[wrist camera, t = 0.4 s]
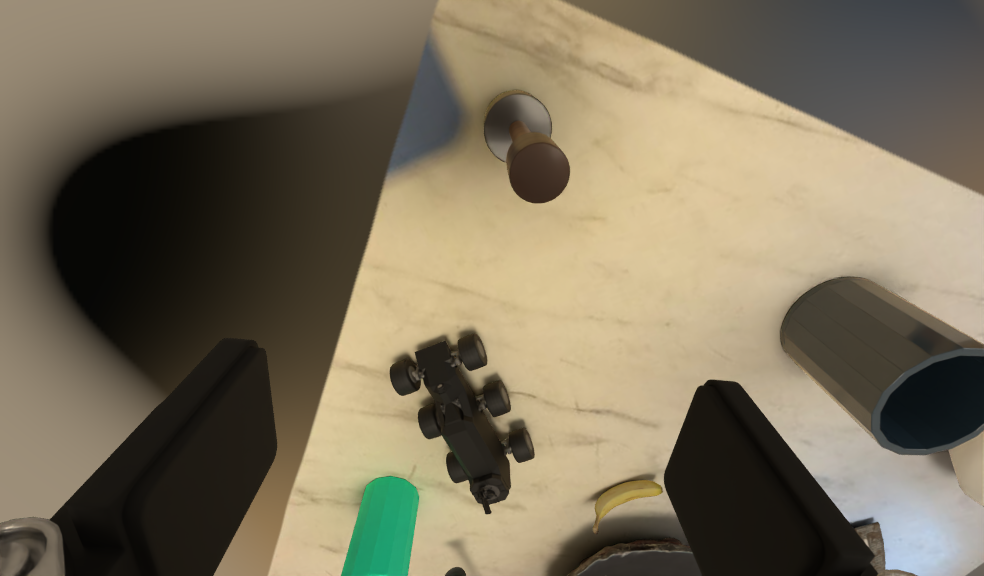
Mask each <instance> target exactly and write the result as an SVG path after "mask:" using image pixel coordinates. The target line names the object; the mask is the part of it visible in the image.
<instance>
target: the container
mask: <svg viewBox="0 0 984 576" xmlns="http://www.w3.org/2000/svg"><path fill="white" fill-rule="evenodd" d="M781 342H782V346H783V348H784V350H785V352H786V353H787V354H788V356H789V357H790V358H791V359H792V360H793V361H794V363H795V364H796V365H798V366H799V367H800V368H801V369H802V370H803V371H804V372H805V373H806V374H807V375H808V376H809V377H810V378H811V379H812V380H813V381H814V382H815V383H816V384H817V385H818V386H819V387H820V388H821V389H822V390H823V391H824V392H825V393H826V394H827V395H829V396H830V397H831V398H832V399H833V400H834V401H835V402H836V403H837V404H838V405H839V406H840V407H841V408H842V409H843V410H844V411H845V412H846V413H847V414H848V415H849V416H850V417H851V418H852V419H853V420H854V421H855V422H856V423H857V424H858V425H859V426H861V427H862V428H863V429H864V430H865V431H866V432H867V433H868V434H869V435H870V436H871V437H872V438H873V439H874V440H875V441H876V442H877V443H878V444H879V445H880V446H881V447H883V448H885V449H888V450H890V451H893V452H895V453H897V454H901V455H929V454H933V453H937V452H941V451H945V450H949V449H953V448H955V447H957V446H959V445H961V444H963V443H965V442H967V441H969V440H971V439H973V438H975V437H977V436H978V435H980V434H981V433H982V432H983V431H984V344H983V343H981V342H979V341H978V340H976V339H974V338H972V337H971V336H969V335H967V334H965V333H964V332H962V331H960V330H958V329H956V328H955V327H953V326H951V325H949V324H948V323H946V322H944V321H942V320H940V319H939V318H937V317H935V316H933V315H932V314H930V313H928V312H926V311H925V310H923V309H921V308H919V307H917V306H916V305H914V304H912V303H910V302H909V301H907V300H905V299H903V298H901V297H900V296H898V295H896V294H894V293H893V292H891V291H889V290H887V289H885V288H884V287H882V286H880V285H878V284H876V283H874V282H872V281H870V280H868V279H864V278H859V277H843V278H837V279H833V280H830V281H827V282H824V283H822V284H820V285H818V286H816V287H814V288H813V289H811V290H810V291H808V292H807V293H805V294H804V295H803V296H802V297H801V298H799V299H798V300H797V302H796V303H795V304H794V305H793V306H792V307H791V309H790V310H789V312H788V313H787V315H786V317H785V319H784V321H783V324H782V328H781Z"/></svg>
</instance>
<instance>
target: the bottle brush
mask: <svg viewBox="0 0 984 576" xmlns="http://www.w3.org/2000/svg"><path fill="white" fill-rule="evenodd" d="M551 133H552V122H551V118H550V115H549V113H548V111H547V109H546V108H545V106H544V105H543V104H542V103H541V102H540V101H539V100H538V99H536V98H535V97H533V96H532V95H530V94H529V93H527V92H524V91H520V90H511V91H507V92H504V93H502V94H500V95H498V96H497V97H496V98H495V99H494V100H493V101H492V102H491V103H490V105H489V106H488V108H487V110H486V113H485V118H484V135H485V140H486V143H487V146H488V147H489V149H490V151H491V152H492V153H493V154H494V155H495V156H496V157H497V158H498V159H500V160H501V161H503V162H506V165H507V170H508V175H509V179H510V183H511V186H512V188H513V190H514V191H515V193H516V194H517V195H518V196H519V197H520V198H522V199H523V200H525V201H528V202H531V203H545V202H549V201H551V200H553V199H555V198H556V197H558V196H559V195H560V194H561V193H562V192H563V190H564V189H565V187H566V186H567V183H568V180H569V176H570V166H569V162H568V159H567V158H566V156H565V154H564V153H563V152H562V151H561V149H560V148H559V147H558V146H557V145H556V144H555V143H554V141H553V140H552V139H551Z"/></svg>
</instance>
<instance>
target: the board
mask: <svg viewBox="0 0 984 576" xmlns="http://www.w3.org/2000/svg"><path fill="white" fill-rule="evenodd" d="M568 576H702V574H701V572H700V569H699V567H698V564H697V562H696V560H695V557H694V555H693V553H692V550H691V548H690V547H689V546H686V545H682V543H681V542H680V541H679V540H678V539H675V538H670V537H669V538H664V539H662V540H659V541H657V540H652V539H651V540H650V539H649V540H636V541H634V542H630V543H628V544H621V543H620V544H616V545H614V546H606V547H604V548H603V549H602V550H601V551H599V552H597V553H596V554H595V555H593V556H592V557H589V558H586V559H585V560H583V561H582V562H581V563H580V566H579V567H578V568H576V569H575V570H572V571H571V572H570V573H569V575H568Z"/></svg>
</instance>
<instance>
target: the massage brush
mask: <svg viewBox="0 0 984 576" xmlns="http://www.w3.org/2000/svg"><path fill="white" fill-rule="evenodd" d="M445 576H466V573H465V571H464V570H463V569H462V568H460V567H455V568H452V569H450V570H449V571H448V572H447V573H446V575H445Z"/></svg>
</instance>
